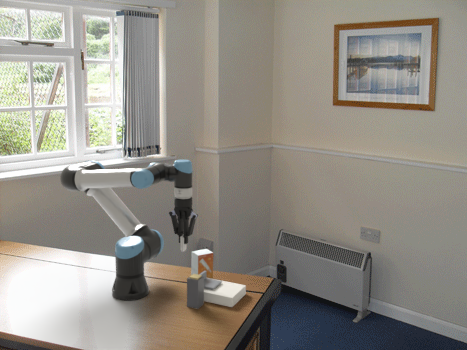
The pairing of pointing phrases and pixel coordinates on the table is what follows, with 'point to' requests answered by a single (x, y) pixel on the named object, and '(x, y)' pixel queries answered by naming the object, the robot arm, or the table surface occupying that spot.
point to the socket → (225, 293)
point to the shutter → (210, 282)
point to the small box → (202, 262)
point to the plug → (195, 291)
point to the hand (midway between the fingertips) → (183, 250)
